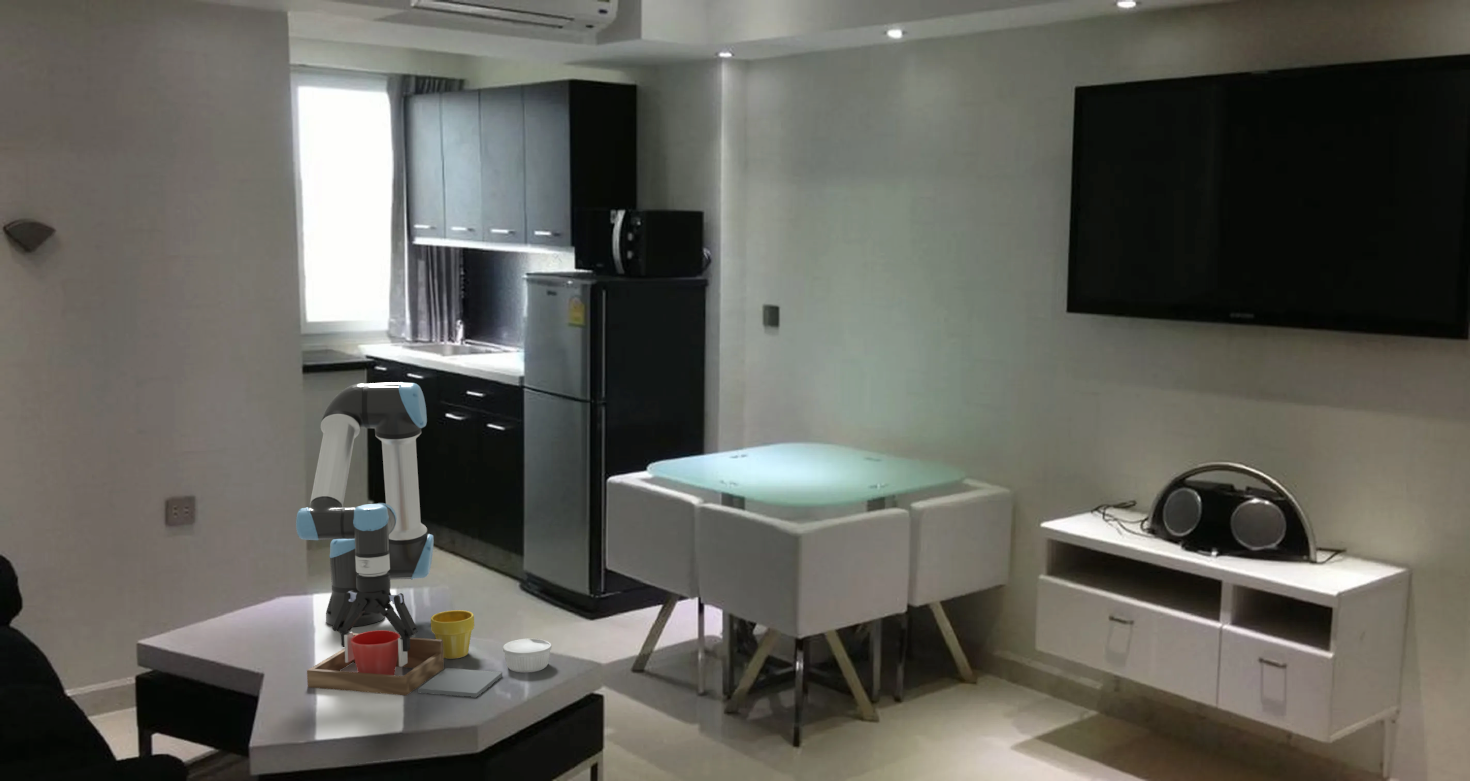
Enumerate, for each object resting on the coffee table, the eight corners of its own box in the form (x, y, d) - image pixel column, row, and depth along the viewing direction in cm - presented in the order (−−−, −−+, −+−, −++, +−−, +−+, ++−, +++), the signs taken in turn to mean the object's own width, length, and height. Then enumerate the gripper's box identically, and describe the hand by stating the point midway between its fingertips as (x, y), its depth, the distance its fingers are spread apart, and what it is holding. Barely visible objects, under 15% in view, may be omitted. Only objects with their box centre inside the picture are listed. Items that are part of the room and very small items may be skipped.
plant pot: (422, 658, 305) (421, 618, 304) (449, 645, 315) (448, 607, 313) (457, 663, 301) (456, 624, 300) (483, 651, 310) (482, 612, 309)
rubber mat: (446, 671, 295) (446, 667, 295) (502, 676, 292) (502, 672, 292) (418, 692, 282) (418, 688, 282) (476, 697, 278) (476, 692, 278)
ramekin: (561, 663, 301) (560, 642, 301) (531, 677, 292) (531, 655, 291) (524, 656, 307) (523, 635, 306) (494, 669, 297) (493, 647, 296)
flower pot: (388, 687, 285) (386, 645, 284) (343, 683, 288) (342, 642, 286) (409, 671, 296) (408, 631, 295) (366, 668, 298) (364, 628, 297)
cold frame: (350, 661, 303) (349, 632, 303) (443, 668, 298) (442, 639, 297) (307, 687, 286) (306, 657, 285) (406, 695, 280) (405, 664, 279)
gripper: (315, 573, 288) (318, 664, 290) (415, 579, 282) (418, 671, 285) (332, 565, 295) (336, 654, 297) (430, 571, 290) (433, 661, 292)
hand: (376, 662), depth 291 cm, fingers open, 13 cm apart
